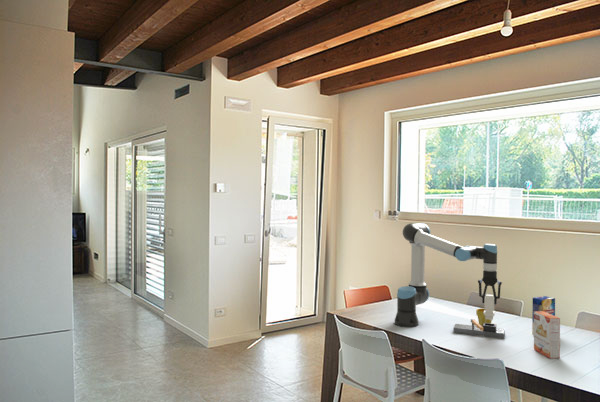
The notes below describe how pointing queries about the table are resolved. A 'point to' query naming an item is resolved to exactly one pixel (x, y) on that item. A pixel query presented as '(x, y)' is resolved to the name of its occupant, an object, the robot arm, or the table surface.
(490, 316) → the plug
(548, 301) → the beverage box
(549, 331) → the cracker box
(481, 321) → the plant pot
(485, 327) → the power strip
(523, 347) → the table surface
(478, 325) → the orange rectangular bar
